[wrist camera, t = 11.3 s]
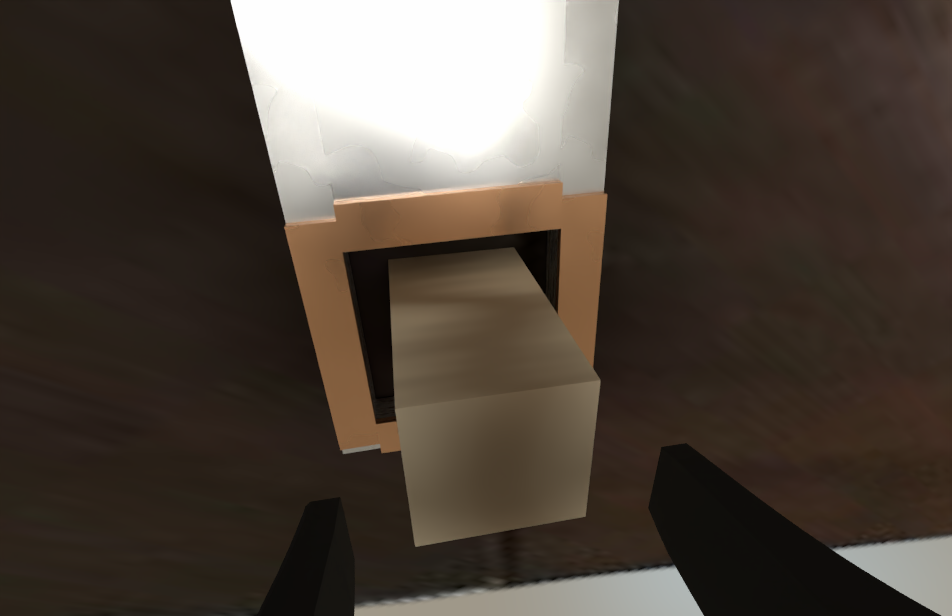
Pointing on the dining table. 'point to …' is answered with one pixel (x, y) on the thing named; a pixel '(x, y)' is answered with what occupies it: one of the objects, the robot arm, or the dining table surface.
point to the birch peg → (487, 397)
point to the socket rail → (430, 151)
